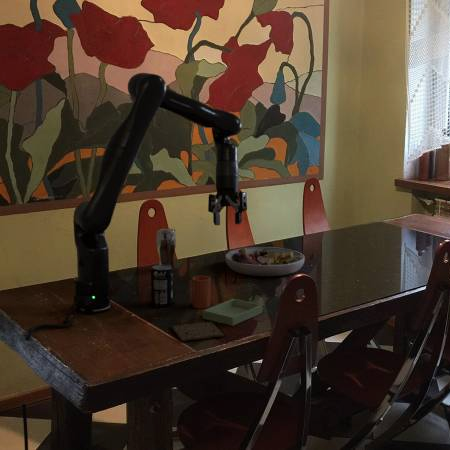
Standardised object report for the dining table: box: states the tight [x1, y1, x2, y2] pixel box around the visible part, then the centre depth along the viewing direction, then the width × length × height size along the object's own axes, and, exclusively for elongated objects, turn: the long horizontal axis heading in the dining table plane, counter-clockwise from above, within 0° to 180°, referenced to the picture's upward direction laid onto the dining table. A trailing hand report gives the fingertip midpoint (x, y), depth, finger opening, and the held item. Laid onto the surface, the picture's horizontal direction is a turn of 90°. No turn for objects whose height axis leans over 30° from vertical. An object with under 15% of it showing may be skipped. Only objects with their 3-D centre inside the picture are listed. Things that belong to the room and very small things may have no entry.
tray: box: [202, 298, 263, 327], centre depth 218 cm, size 15×11×2 cm
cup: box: [191, 275, 211, 309], centre depth 226 cm, size 6×6×9 cm
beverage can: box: [150, 264, 174, 307], centre depth 226 cm, size 7×7×12 cm
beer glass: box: [156, 228, 177, 272], centre depth 267 cm, size 7×7×15 cm
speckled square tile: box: [171, 320, 225, 342], centre depth 203 cm, size 12×12×1 cm
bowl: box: [224, 246, 306, 278], centre depth 273 cm, size 30×30×8 cm
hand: (227, 224), depth 236 cm, fingers open, 8 cm apart
